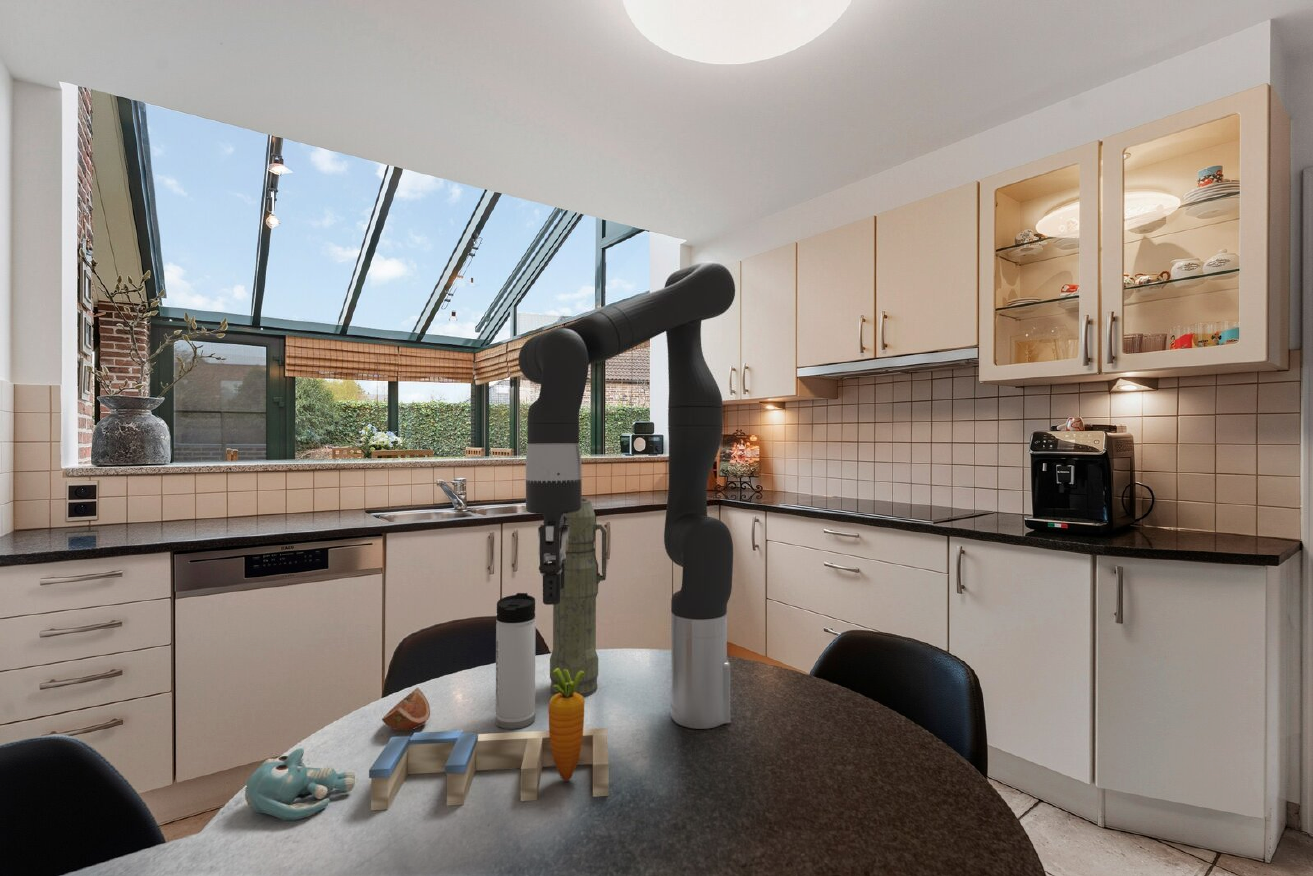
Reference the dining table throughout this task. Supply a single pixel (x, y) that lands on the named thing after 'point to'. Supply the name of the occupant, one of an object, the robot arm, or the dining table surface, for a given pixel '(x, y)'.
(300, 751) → the stuffed animal
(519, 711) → the travel mug
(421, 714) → the fruit slice
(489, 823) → the dining table surface
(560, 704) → the carrot
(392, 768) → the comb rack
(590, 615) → the thermos
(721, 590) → the robot arm
